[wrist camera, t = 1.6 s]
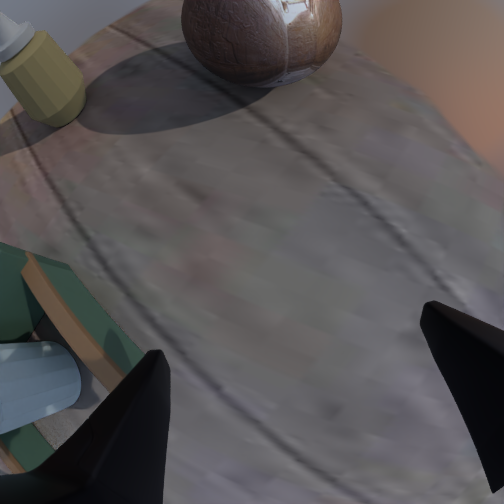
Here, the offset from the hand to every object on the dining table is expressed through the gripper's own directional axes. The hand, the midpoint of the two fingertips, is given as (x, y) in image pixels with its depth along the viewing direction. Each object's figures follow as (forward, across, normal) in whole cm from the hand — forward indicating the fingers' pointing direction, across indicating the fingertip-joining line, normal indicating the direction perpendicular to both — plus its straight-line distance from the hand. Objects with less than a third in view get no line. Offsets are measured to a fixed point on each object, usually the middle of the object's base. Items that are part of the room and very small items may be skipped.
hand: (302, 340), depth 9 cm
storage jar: (+10, +22, +11) cm, 26 cm away
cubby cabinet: (+10, +22, +11) cm, 26 cm away
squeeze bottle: (+28, +21, -13) cm, 38 cm away
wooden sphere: (+28, -3, -12) cm, 31 cm away
